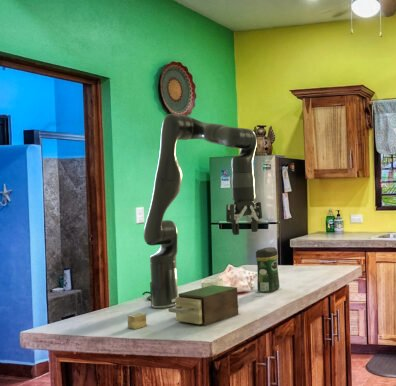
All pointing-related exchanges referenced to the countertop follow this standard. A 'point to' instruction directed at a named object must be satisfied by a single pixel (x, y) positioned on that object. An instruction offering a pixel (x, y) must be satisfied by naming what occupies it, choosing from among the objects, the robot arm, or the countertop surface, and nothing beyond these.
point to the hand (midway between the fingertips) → (245, 233)
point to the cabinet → (215, 302)
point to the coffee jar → (267, 269)
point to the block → (136, 320)
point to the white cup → (212, 282)
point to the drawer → (188, 310)
